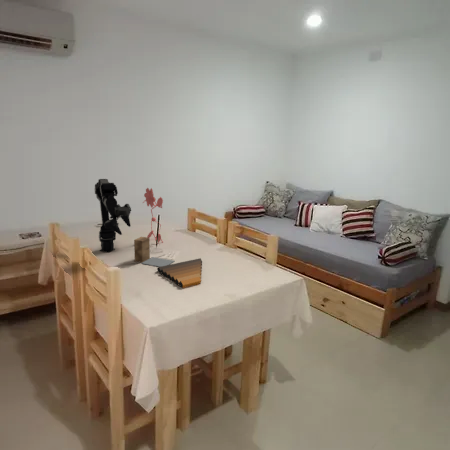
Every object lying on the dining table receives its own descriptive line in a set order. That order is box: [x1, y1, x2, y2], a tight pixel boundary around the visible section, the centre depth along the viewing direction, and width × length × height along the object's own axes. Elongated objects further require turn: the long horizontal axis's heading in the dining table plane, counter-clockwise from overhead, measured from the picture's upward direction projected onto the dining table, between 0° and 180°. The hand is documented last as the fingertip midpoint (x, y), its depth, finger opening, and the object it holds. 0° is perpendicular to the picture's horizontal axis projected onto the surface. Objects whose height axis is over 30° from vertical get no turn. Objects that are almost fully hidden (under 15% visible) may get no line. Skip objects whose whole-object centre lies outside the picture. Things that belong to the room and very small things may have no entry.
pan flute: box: [156, 257, 203, 289], centre depth 180 cm, size 25×3×25 cm
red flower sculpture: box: [142, 187, 164, 248], centre depth 225 cm, size 15×26×35 cm, turn 38°
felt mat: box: [140, 256, 175, 268], centre depth 194 cm, size 14×11×1 cm
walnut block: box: [133, 236, 151, 263], centre depth 196 cm, size 5×7×12 cm
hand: (125, 230), depth 197 cm, fingers open, 9 cm apart
